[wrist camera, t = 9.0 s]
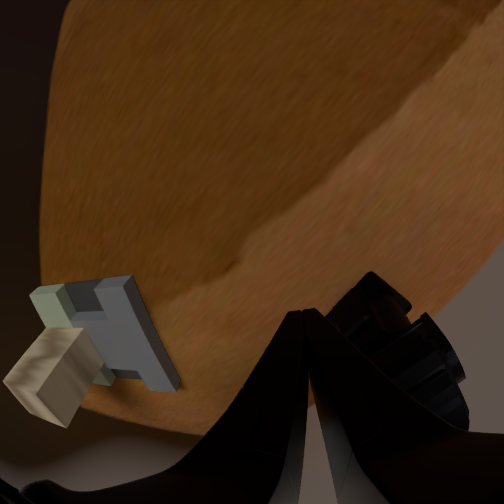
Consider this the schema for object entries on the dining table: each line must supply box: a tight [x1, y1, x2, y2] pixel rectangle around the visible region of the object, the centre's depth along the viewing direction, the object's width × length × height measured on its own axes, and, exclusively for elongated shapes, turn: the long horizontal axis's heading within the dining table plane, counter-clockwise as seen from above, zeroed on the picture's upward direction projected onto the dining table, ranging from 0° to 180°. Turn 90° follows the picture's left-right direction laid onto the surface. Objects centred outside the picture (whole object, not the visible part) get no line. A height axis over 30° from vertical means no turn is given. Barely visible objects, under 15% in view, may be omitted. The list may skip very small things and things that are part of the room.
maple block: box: [3, 327, 104, 428], centre depth 21 cm, size 7×5×10 cm
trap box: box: [30, 275, 181, 392], centre depth 26 cm, size 15×14×2 cm
